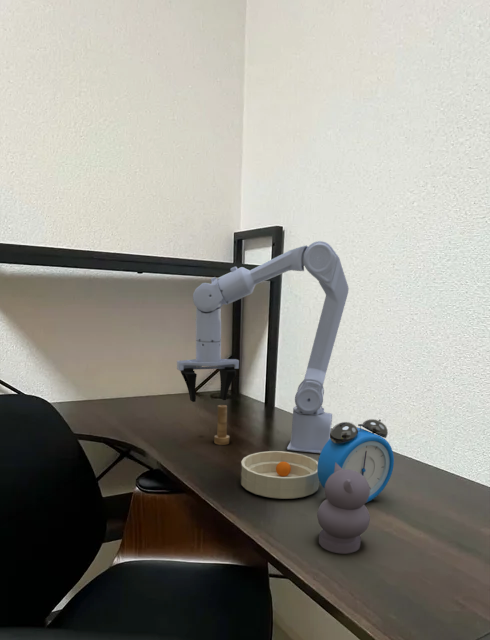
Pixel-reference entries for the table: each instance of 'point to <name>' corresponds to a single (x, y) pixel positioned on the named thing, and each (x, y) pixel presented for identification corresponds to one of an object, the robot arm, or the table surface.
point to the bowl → (266, 481)
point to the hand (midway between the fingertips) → (208, 400)
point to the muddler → (222, 426)
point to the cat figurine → (344, 511)
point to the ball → (283, 469)
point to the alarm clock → (359, 454)
